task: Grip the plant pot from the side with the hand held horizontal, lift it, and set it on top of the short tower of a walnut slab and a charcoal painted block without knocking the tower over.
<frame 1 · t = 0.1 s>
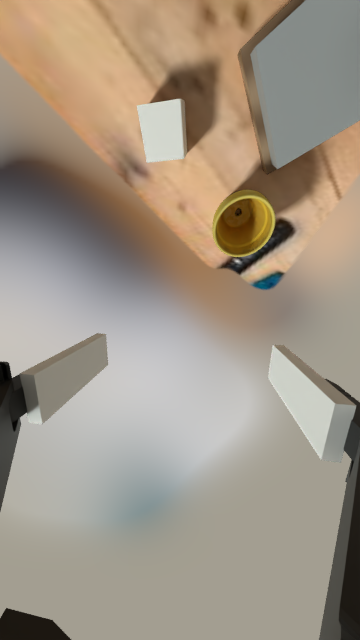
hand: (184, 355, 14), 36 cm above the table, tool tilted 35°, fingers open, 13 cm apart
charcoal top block: (312, 79, 23), point 3 cm above the table, touching walnut base slab
matte white cube: (168, 131, 31), on the table
walnut base slab: (302, 83, 26), on the table, touching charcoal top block
plant pot: (237, 209, 38), on the table
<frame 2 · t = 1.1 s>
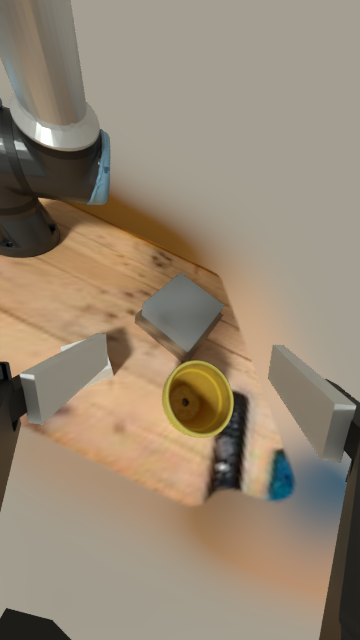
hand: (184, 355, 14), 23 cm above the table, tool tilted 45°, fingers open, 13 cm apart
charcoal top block: (181, 315, 40), point 3 cm above the table, touching walnut base slab
matte white cube: (92, 368, 34), on the table
walnut base slab: (178, 323, 43), on the table, touching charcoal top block
plant pot: (183, 402, 34), on the table
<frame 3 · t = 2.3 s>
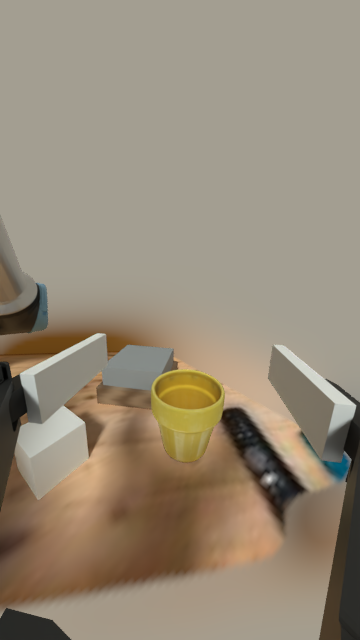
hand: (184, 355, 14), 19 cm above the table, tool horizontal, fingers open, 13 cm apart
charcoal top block: (142, 372, 41), point 3 cm above the table, touching walnut base slab
matte white cube: (55, 465, 25), on the table
walnut base slab: (143, 388, 42), on the table, touching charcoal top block
plant pot: (185, 442, 29), on the table
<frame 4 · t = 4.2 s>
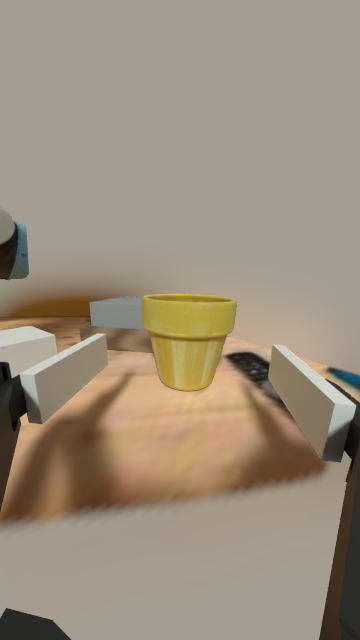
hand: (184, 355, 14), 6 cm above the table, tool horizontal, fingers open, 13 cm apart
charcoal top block: (138, 320, 36), point 3 cm above the table
matte white cube: (16, 393, 19), on the table
walnut base slab: (136, 340, 37), on the table
plant pot: (186, 376, 23), on the table
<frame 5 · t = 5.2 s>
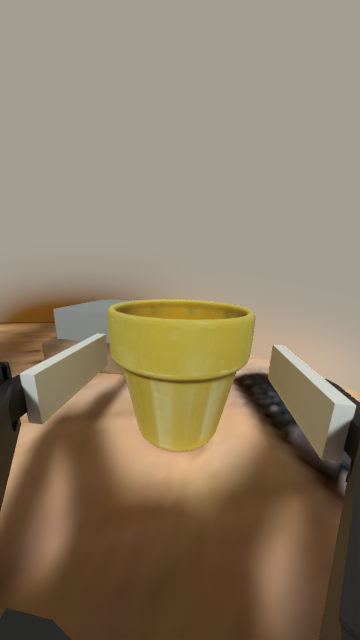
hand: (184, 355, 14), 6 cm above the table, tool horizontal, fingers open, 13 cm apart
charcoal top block: (120, 329, 29), point 3 cm above the table, touching walnut base slab
walnut base slab: (121, 354, 30), on the table, touching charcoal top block
plant pot: (178, 419, 16), on the table
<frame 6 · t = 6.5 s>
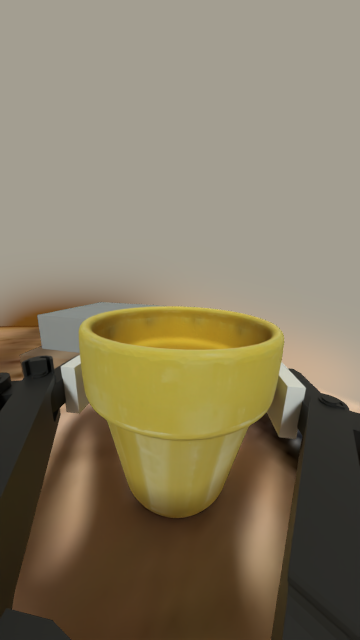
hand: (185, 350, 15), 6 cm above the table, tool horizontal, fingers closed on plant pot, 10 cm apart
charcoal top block: (116, 337, 26), point 3 cm above the table, touching walnut base slab
walnut base slab: (114, 364, 27), on the table, touching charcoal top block
plant pot: (177, 458, 13), on the table, touching gripper
when the fingers open (15 cm above the table, at t = 11.8 s): plant pot drops 1 cm, point 8 cm above the table.
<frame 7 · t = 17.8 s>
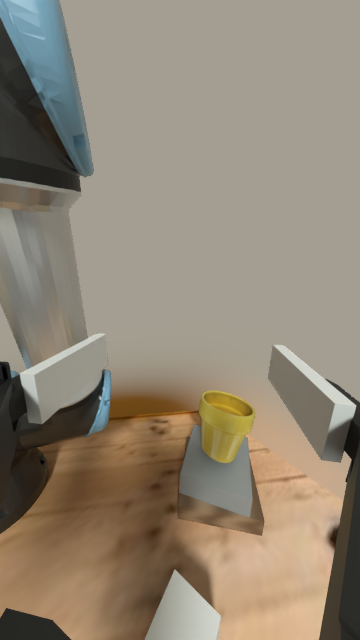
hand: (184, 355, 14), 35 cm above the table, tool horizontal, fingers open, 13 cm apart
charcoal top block: (215, 470, 37), point 3 cm above the table, touching walnut base slab
walnut base slab: (216, 485, 38), on the table, touching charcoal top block
plant pot: (217, 450, 36), point 8 cm above the table
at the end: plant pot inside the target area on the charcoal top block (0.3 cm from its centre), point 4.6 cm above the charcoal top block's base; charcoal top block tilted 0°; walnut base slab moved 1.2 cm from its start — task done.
